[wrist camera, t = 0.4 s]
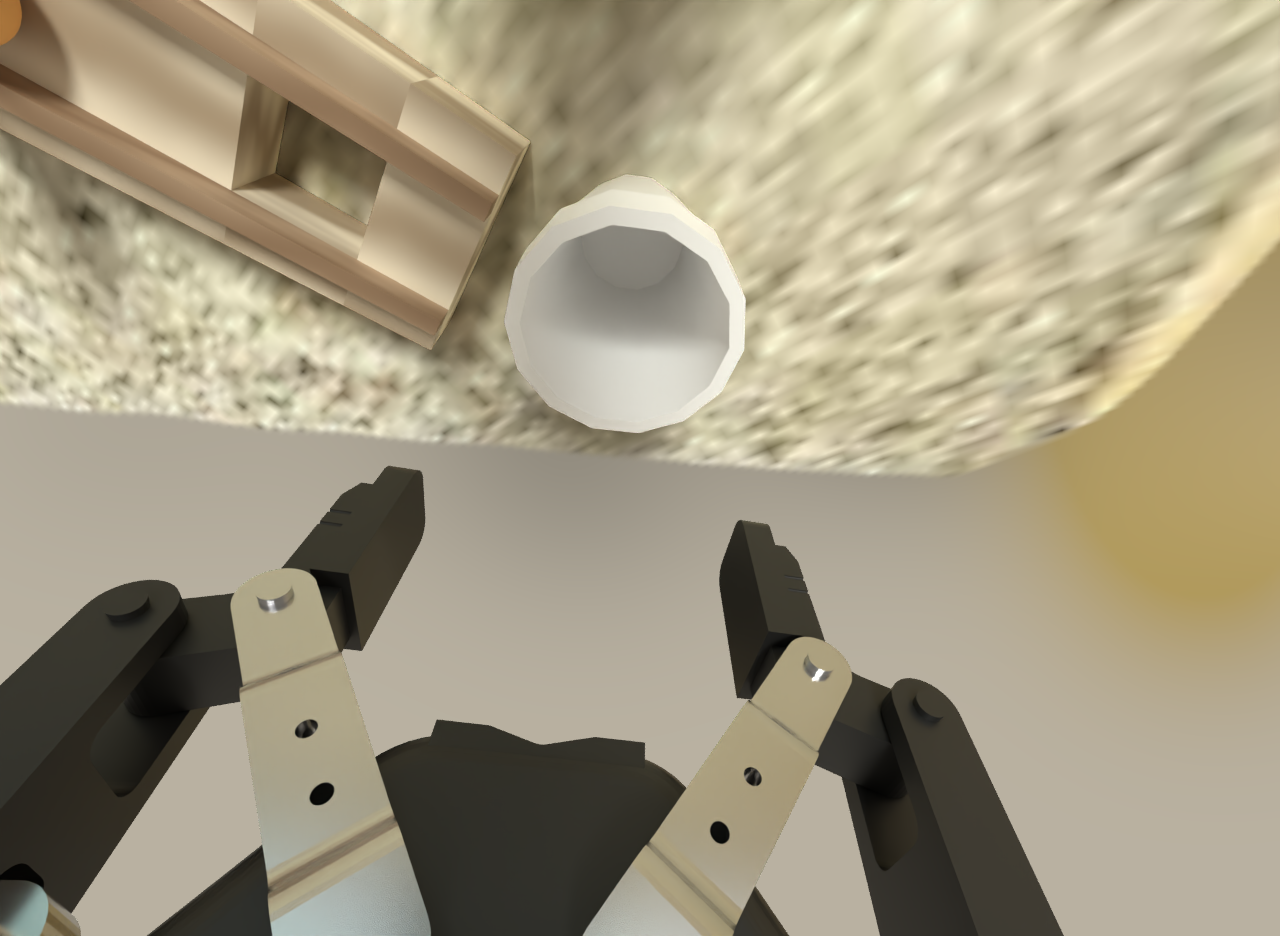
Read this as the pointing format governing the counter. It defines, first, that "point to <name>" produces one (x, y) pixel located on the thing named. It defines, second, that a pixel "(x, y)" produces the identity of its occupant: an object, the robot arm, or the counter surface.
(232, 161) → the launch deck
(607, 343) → the foam cup
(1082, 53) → the counter surface
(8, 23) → the ball
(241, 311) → the counter surface
